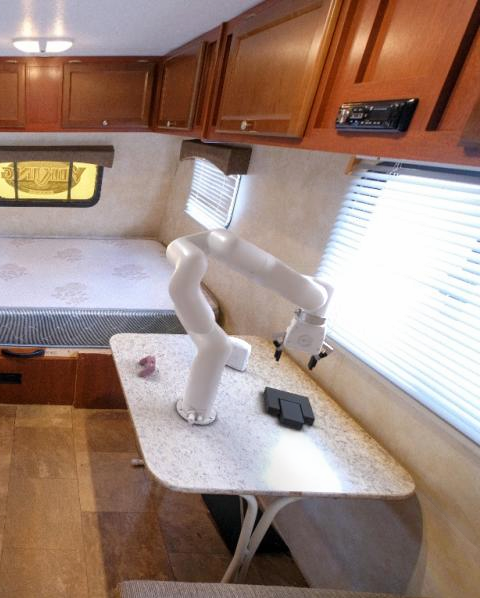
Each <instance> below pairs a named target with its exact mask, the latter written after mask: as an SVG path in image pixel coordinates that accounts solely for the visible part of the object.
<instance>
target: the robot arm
mask: <svg viewBox="0 0 480 598" xmlns="http://www.w3.org/2000/svg"><path fill="white" fill-rule="evenodd" d="M165 256H166V260H167V261H168V263H169V264H170V265H171V266H172V267H173V269H174V271H173V272H172V275H171V277H170V279H169V281H168V282H169V283H168V286H167V289H168V295H169V297H170V299H171V301H172V303H173V311H174V314H175V315H176V317H177V318H178V320H179V322H180V324H181V326H182V327H183V329H184V330H185V332H186V333H187V335H188V336H189V338H190V340H191V341H192V343H193V344H194V346H195V347H196V349H197V353H196V355H195V357H194V358H193V359H192V361H191V365H190V369H189V374H188V378H187V382H186V386H185V390H184V394H183V397H181V398H180V399H179V400H177V403H176V410H177V412H178V414H179V415H180V416H181V417H182V418H183V419H184V420H186V421H187V423H188V424H189V425H194V424H196V425H209V424H211V423H213V422H214V421H215V419H216V415H217V414H216V410H215V408H214V404H215V401H216V397H217V393H218V390H219V386H220V384H221V383H220V382H221V379H222V375H223V372H224V369H225V367H226V362H227V360H228V359H229V357H230V355H231V353H232V342H231V340H230V338H229V337H230V336H229V334H227V333H226V332H225V330H224V329H223V328H222V327H221V326H220V325H219V324H218V323H217V321H216V316H215V312H214V310H213V308H212V307H211V305H210V304H209V302H208V300H207V298H206V297H205V295H204V293H203V291H202V288H201V286H200V285H201V281H202V280H203V278H204V276H205V274H206V273H207V270H208V266H209V259H208V258H211V257H212V258H213V259H214V260H216V261H217V262H219V263H220V264H222V265H224V266H225V267H227V268H228V269H230V270H233V271H234V272H236V273H238V274H240V275H241V276H243V277H245V278H247V279H248V280H250V281H253V282H254V283H256V284H257V285H259V286H261V287H263V288H265V289H266V290H269V291H271V292H273V293H274V294H276V295H278V296H279V297H281V298H283V299H285V300H287V301H289V302H290V303H292V304H293V305H296V306H297V307H298V309H293V310H292V314H294V316H293V318H292V319H291V320H290V322H289V324H288V325H287V328H286V330H285V331H281V332H274V333H272V334H271V339H272V343H273V345H274V347H275V348H276V349H275V351H274V354H273V358H275V362H277V363H278V362H279V361H280V359H281V356H282V354H283V350H284V349H289V350H290V351H291V350H292V351H294V352H295V351H296V352H298V353H302V354H305V355H311V356H310V358H309V361H308V363H307V367H308V370H309V371H313V368H314V369H315V368H316V366H317V364H318V362H319V361H321V360H322V359H324V358H327V357H328V355H331V354H332V353H333V352H334V349H333V347H331V345H329V344H328V343H326V342H325V339H326V335H327V331H328V325H327V324H326V322H327V320H328V318H329V315H330V313H331V311H332V308H333V306H334V303H335V301H336V298H337V296H338V294H339V291H340V289H341V284H340V283H339V282H338V280H335V279H333V278H331V277H326V276H311V275H306V274H302V273H300V272H298V271H296V270H294V269H293V268H291V267H290V266H289V265H288V264H286V263H285V262H283V261H282V260H281V259H278V258H277V257H276V256H274V255H273V254H271V253H269V252H267V251H265V250H264V249H262V248H260V247H258V246H257V245H255V244H253V243H251V241H248V240H247V239H245V238H243V237H242V236H240V235H238V234H236V233H234V232H232V231H231V230H229V229H226V228H222V227H221V228H212V229H208V230H204V231H200V232H197V233H193V234H189V235H185V236H181V237H177V238H176V239H174V240H172V241H171V242H170V243H169V244H168V246H167V248H166V250H165ZM280 338H282V341H278V339H280ZM322 348H323V349H324V350H322Z"/></svg>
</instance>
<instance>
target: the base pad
mask: <svg viewBox="0 0 480 598" xmlns="http://www.w3.org/2000/svg"><path fill="white" fill-rule="evenodd" d="M263 398H264V399H263V400H264V407H265V412H266V414H268V415H271V416H274V417H275V416H276V417H278V415H279V410H280V408H279V401H280V399H281V400H285V401H289V402H293V403H296V404H299V406H300V409H301V413H302V417H303V420H304V425H308V426H311V427H312V426H313V425H314V423H315V421H316V417H315V413H314V410H313V407H312V405H311V402H310V398H309V397H308V396H305V395H302V394H297V393H293V392H289V391H286V390H281V389H279V388H274V387H270V386H265V388H264V390H263Z"/></svg>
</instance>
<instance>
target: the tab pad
mask: <svg viewBox="0 0 480 598" xmlns="http://www.w3.org/2000/svg"><path fill="white" fill-rule="evenodd" d="M279 408H280V410H279V413H278V415H279V419H280V425H281V426H286V427H289V428H292V429H296V430H300V431H302V430H303V428H304V425H305V424H304V420H303V417H302V413H301V409H300V406H299V404H296V403H293V402H289V401H285V400H281V399H280V401H279Z"/></svg>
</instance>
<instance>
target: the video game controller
mask: <svg viewBox="0 0 480 598" xmlns="http://www.w3.org/2000/svg"><path fill="white" fill-rule="evenodd" d="M156 360H157V359H156V357H155V356H154V355H151V354H150V355H146V356H145V357H142V358H141V359H140V360H139V361H138V363H139V364H140V365H145V368H144V369H142V370H141V371H139V373H138V375H139V377H147V376H149V375H151V374H153V373H154V372H156V367H157V366H156V362H157V361H156Z"/></svg>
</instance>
